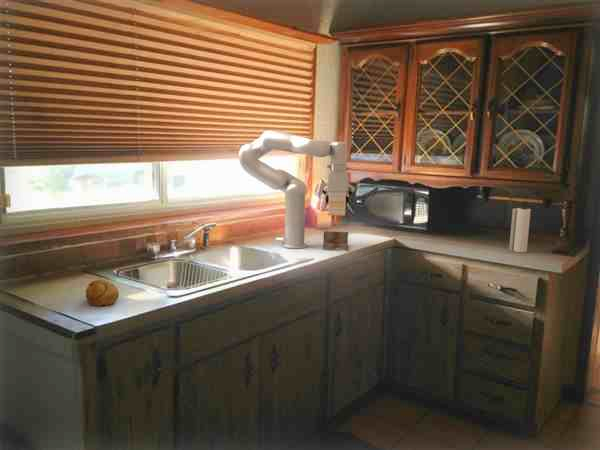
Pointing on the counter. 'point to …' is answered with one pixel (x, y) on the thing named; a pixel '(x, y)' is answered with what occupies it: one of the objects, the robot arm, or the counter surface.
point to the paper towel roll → (519, 230)
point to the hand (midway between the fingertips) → (336, 204)
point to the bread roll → (101, 293)
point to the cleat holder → (335, 240)
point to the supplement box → (337, 203)
